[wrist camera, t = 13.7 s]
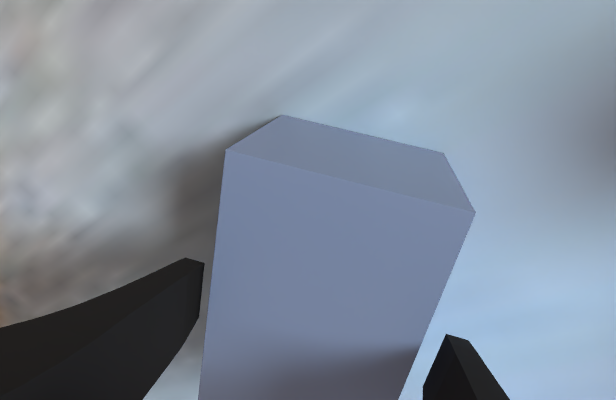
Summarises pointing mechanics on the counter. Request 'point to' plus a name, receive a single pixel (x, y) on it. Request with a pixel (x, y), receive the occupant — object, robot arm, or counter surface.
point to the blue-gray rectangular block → (327, 263)
